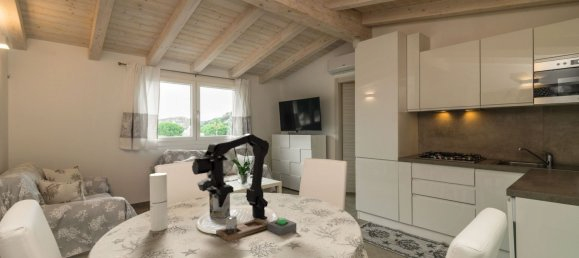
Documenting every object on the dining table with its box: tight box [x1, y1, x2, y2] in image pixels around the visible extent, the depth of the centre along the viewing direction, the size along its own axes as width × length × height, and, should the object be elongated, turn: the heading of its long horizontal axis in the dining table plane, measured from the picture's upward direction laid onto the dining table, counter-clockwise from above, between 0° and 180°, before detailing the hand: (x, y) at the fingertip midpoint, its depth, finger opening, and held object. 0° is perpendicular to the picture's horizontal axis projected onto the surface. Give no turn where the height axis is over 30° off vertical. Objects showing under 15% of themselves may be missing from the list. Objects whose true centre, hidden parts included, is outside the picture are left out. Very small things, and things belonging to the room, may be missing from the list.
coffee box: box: [208, 183, 231, 219], centre depth 141 cm, size 9×6×16 cm
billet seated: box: [225, 215, 238, 235], centre depth 113 cm, size 4×4×7 cm
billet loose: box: [213, 193, 223, 211], centre depth 119 cm, size 4×4×7 cm
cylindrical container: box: [149, 172, 169, 232], centre depth 123 cm, size 7×7×25 cm
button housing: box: [266, 218, 297, 237], centre depth 117 cm, size 9×9×4 cm
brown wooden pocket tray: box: [215, 218, 267, 242], centre depth 116 cm, size 10×20×2 cm, turn 132°
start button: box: [276, 217, 287, 226], centre depth 117 cm, size 4×4×2 cm
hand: (218, 206), depth 119 cm, fingers closed on billet loose, 4 cm apart
